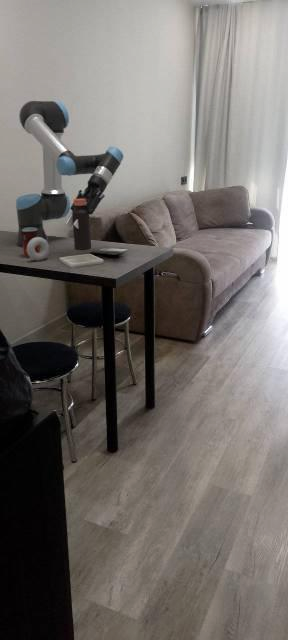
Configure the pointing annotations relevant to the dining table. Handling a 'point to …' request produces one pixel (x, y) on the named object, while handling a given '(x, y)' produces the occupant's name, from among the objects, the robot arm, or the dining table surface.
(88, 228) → the vinegar
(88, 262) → the tray
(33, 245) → the donut
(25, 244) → the soda can
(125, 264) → the dining table surface
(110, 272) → the dining table surface
